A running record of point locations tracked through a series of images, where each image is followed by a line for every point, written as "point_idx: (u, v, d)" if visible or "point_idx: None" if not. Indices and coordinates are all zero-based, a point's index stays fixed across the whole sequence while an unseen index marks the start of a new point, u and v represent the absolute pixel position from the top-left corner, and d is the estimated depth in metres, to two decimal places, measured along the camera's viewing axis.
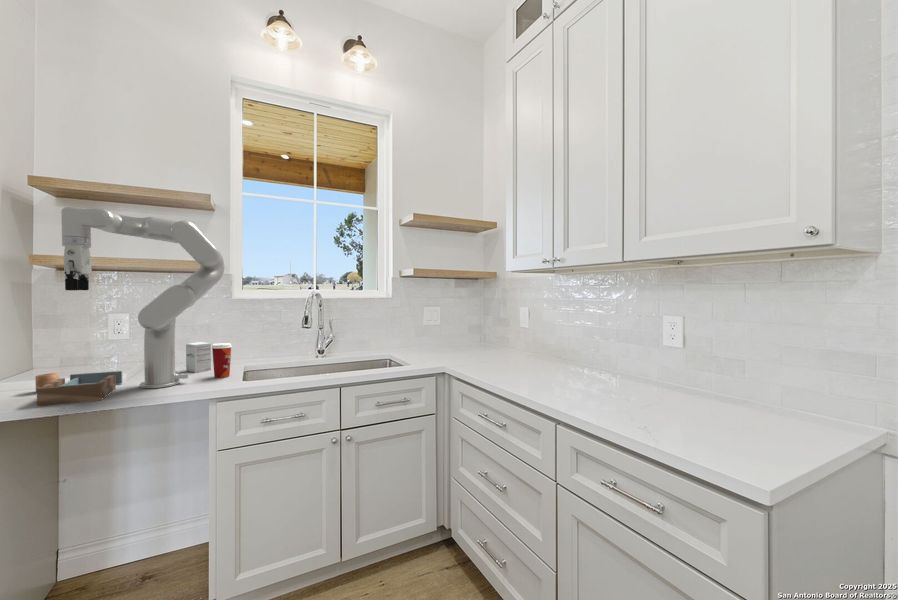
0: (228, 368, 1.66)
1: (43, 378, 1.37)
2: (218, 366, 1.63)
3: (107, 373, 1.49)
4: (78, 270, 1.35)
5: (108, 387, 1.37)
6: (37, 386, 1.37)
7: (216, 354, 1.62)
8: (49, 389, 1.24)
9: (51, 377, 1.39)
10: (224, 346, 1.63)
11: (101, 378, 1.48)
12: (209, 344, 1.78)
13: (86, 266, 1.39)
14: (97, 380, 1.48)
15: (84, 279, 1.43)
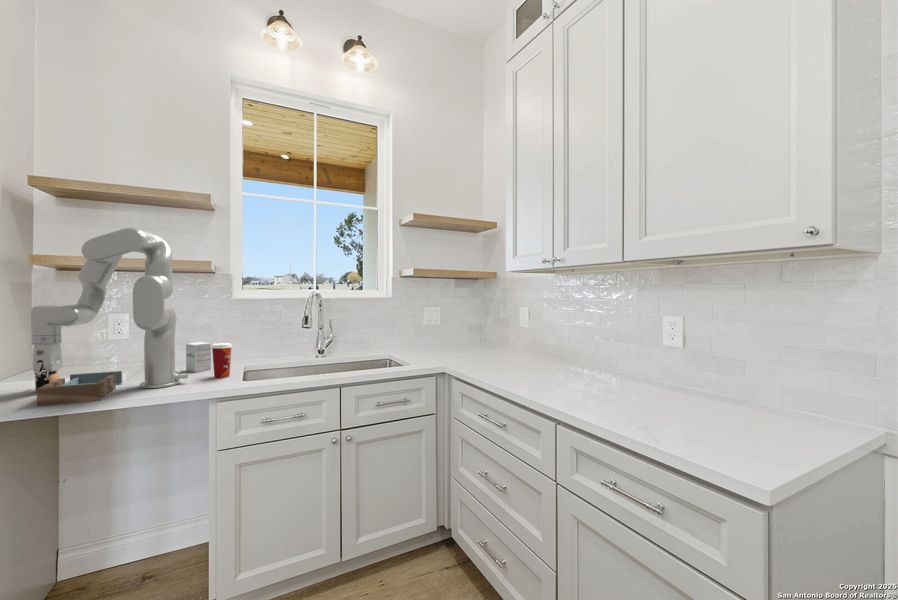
0: (228, 368, 1.66)
1: None
2: (218, 366, 1.63)
3: (107, 373, 1.49)
4: (47, 369, 1.36)
5: (108, 387, 1.37)
6: None
7: (216, 354, 1.62)
8: (49, 389, 1.24)
9: (51, 377, 1.39)
10: (224, 346, 1.63)
11: (101, 378, 1.48)
12: (209, 344, 1.78)
13: (56, 362, 1.40)
14: (97, 380, 1.48)
15: None
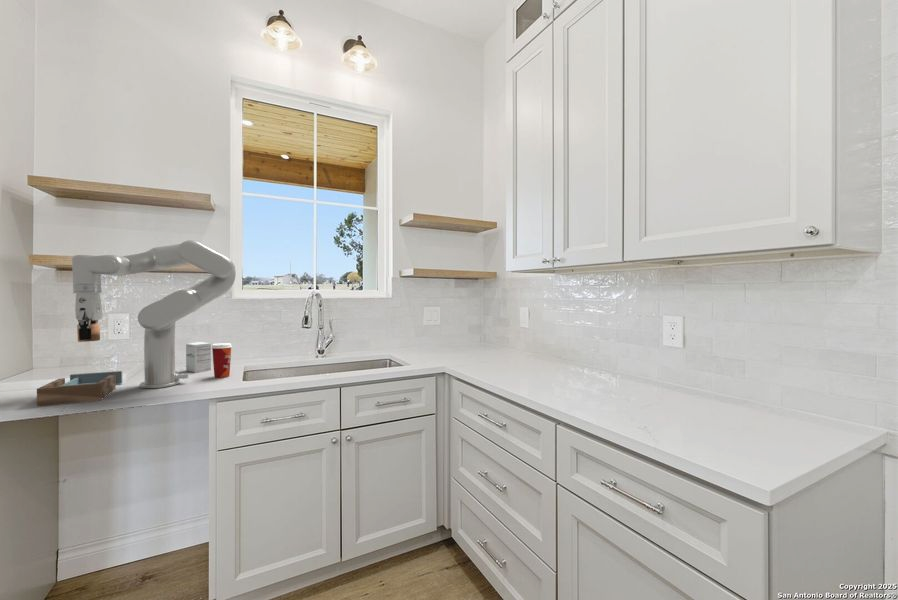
0: (228, 368, 1.66)
1: None
2: (218, 366, 1.63)
3: (107, 373, 1.49)
4: (89, 317, 1.37)
5: (108, 387, 1.37)
6: None
7: (216, 354, 1.62)
8: (49, 389, 1.24)
9: (92, 326, 1.40)
10: (224, 346, 1.63)
11: (101, 378, 1.48)
12: (209, 344, 1.78)
13: (97, 312, 1.41)
14: (97, 380, 1.48)
15: None
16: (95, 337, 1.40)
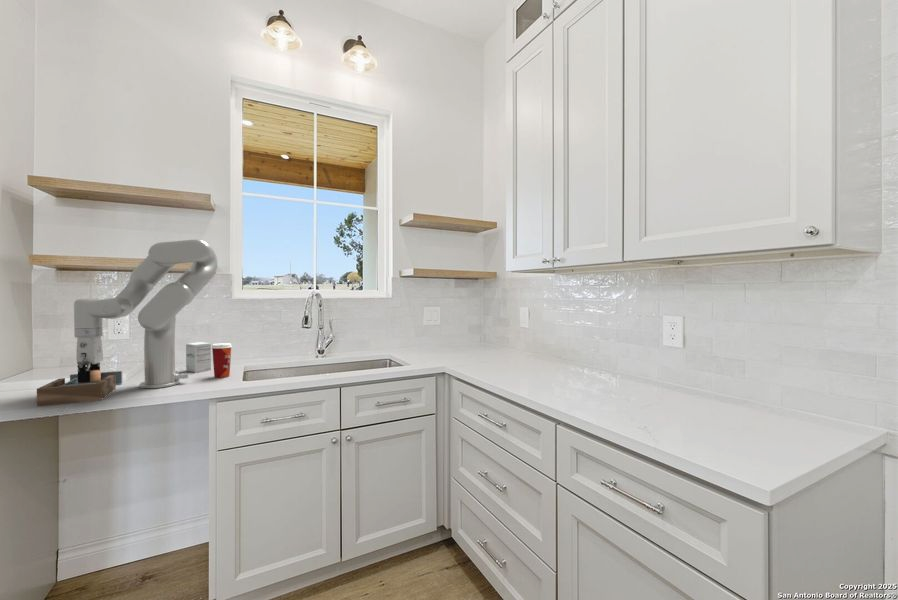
0: (228, 368, 1.66)
1: None
2: (218, 366, 1.63)
3: (107, 373, 1.49)
4: (90, 362, 1.38)
5: (108, 387, 1.37)
6: (80, 383, 1.38)
7: (216, 354, 1.62)
8: (49, 389, 1.24)
9: (94, 374, 1.40)
10: (224, 346, 1.63)
11: (101, 378, 1.48)
12: (209, 344, 1.78)
13: (98, 355, 1.42)
14: None
15: (95, 366, 1.46)
16: None
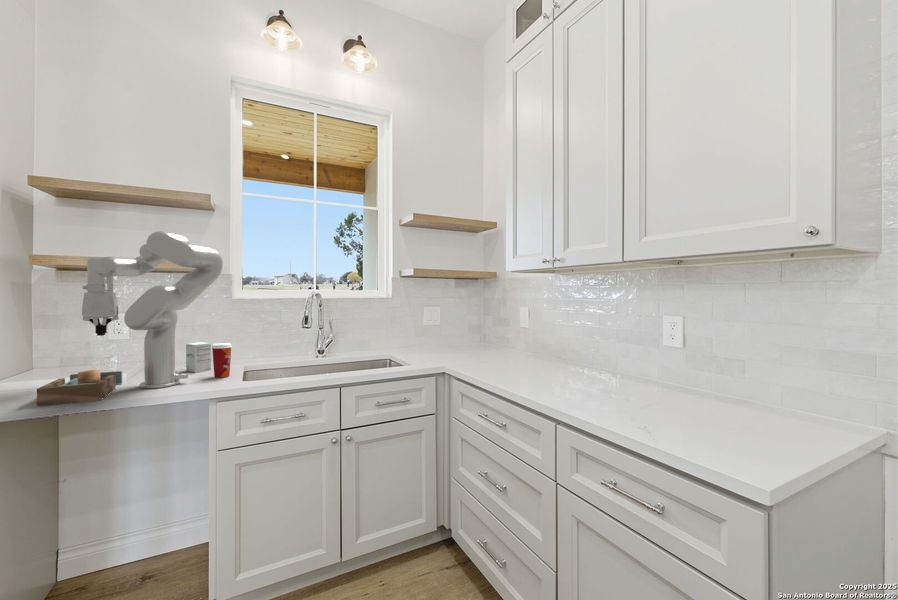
0: (228, 368, 1.66)
1: (86, 374, 1.39)
2: (218, 366, 1.63)
3: (107, 373, 1.49)
4: None
5: (108, 387, 1.37)
6: (80, 382, 1.38)
7: (216, 354, 1.62)
8: (49, 389, 1.24)
9: (94, 373, 1.40)
10: (224, 346, 1.63)
11: (101, 378, 1.48)
12: (209, 344, 1.78)
13: (96, 310, 1.49)
14: None
15: None
16: None
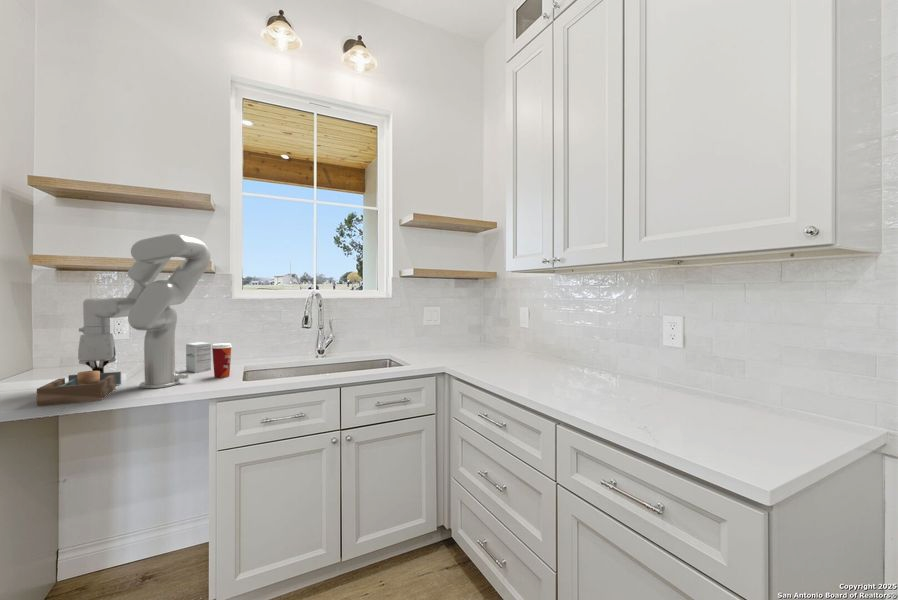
0: (228, 368, 1.66)
1: (87, 375, 1.38)
2: (218, 366, 1.63)
3: (106, 374, 1.48)
4: None
5: (108, 387, 1.37)
6: (80, 383, 1.37)
7: (216, 354, 1.62)
8: (49, 389, 1.24)
9: (95, 374, 1.40)
10: (224, 346, 1.63)
11: (100, 379, 1.47)
12: (209, 344, 1.78)
13: (92, 353, 1.46)
14: None
15: None
16: None
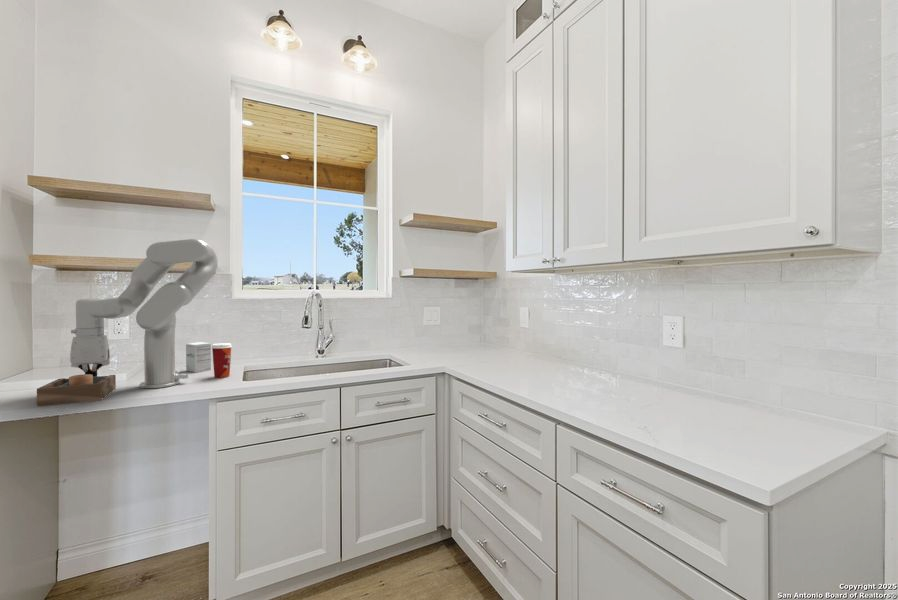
0: (228, 368, 1.66)
1: (80, 379, 1.32)
2: (218, 366, 1.63)
3: (99, 377, 1.42)
4: None
5: (108, 387, 1.37)
6: None
7: (216, 354, 1.62)
8: (49, 389, 1.24)
9: (88, 378, 1.34)
10: (224, 346, 1.63)
11: (93, 383, 1.41)
12: (209, 344, 1.78)
13: (85, 356, 1.40)
14: None
15: (90, 369, 1.42)
16: None
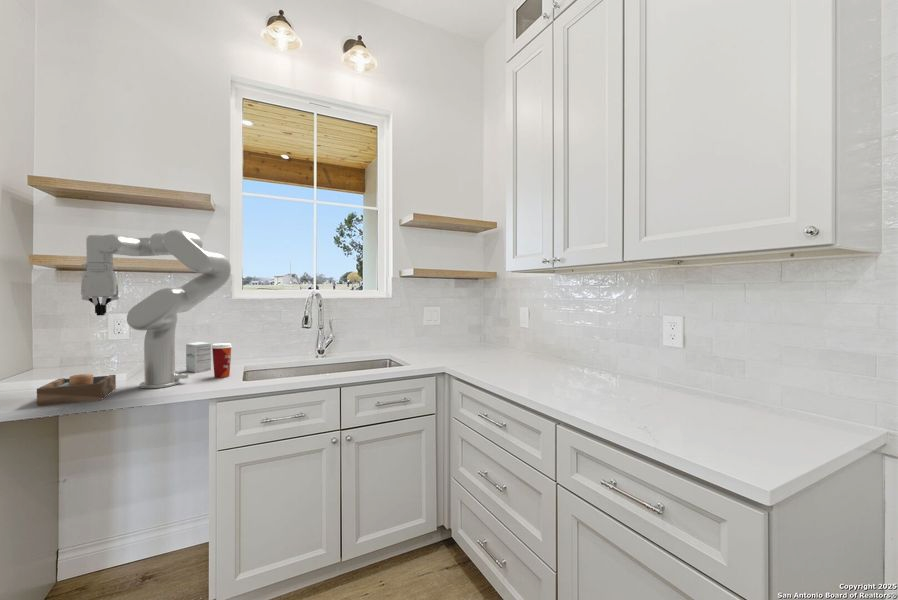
0: (228, 368, 1.66)
1: (82, 379, 1.32)
2: (218, 366, 1.63)
3: (100, 377, 1.42)
4: None
5: (108, 387, 1.37)
6: None
7: (216, 354, 1.62)
8: (49, 389, 1.24)
9: (90, 378, 1.34)
10: (224, 346, 1.63)
11: (93, 383, 1.41)
12: (209, 344, 1.78)
13: (95, 289, 1.46)
14: None
15: None
16: None
